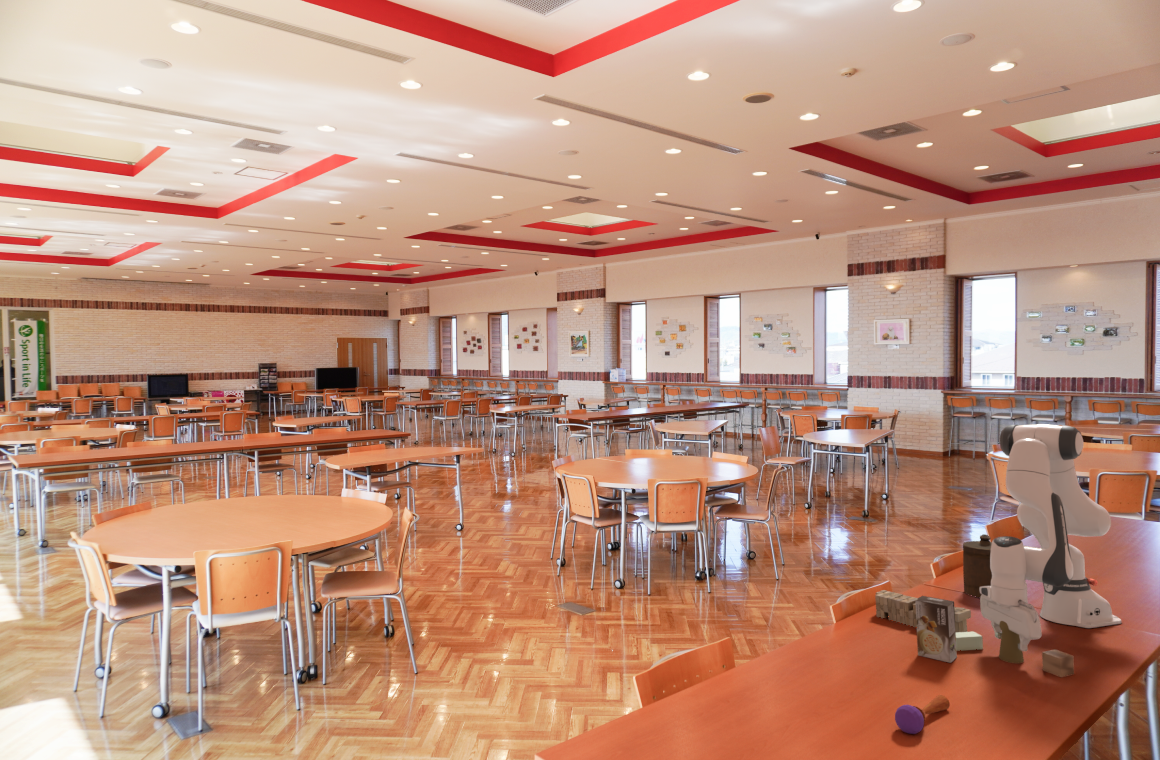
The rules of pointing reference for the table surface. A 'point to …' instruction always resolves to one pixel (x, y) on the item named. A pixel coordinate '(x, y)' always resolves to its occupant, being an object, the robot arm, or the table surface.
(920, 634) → the coffee box
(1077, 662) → the table surface
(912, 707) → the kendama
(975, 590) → the wooden container
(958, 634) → the sage block
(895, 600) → the block tower
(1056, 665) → the walnut cube
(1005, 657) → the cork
